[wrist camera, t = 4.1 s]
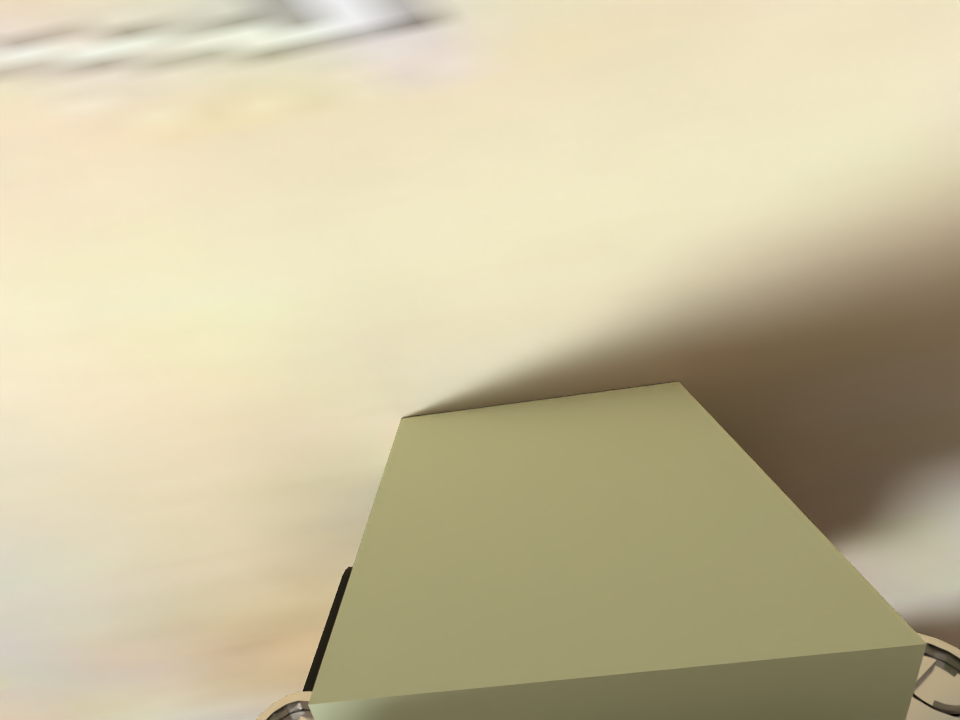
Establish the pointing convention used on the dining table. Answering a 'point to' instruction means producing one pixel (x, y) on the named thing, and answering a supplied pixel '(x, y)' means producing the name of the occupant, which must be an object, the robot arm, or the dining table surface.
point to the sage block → (602, 579)
